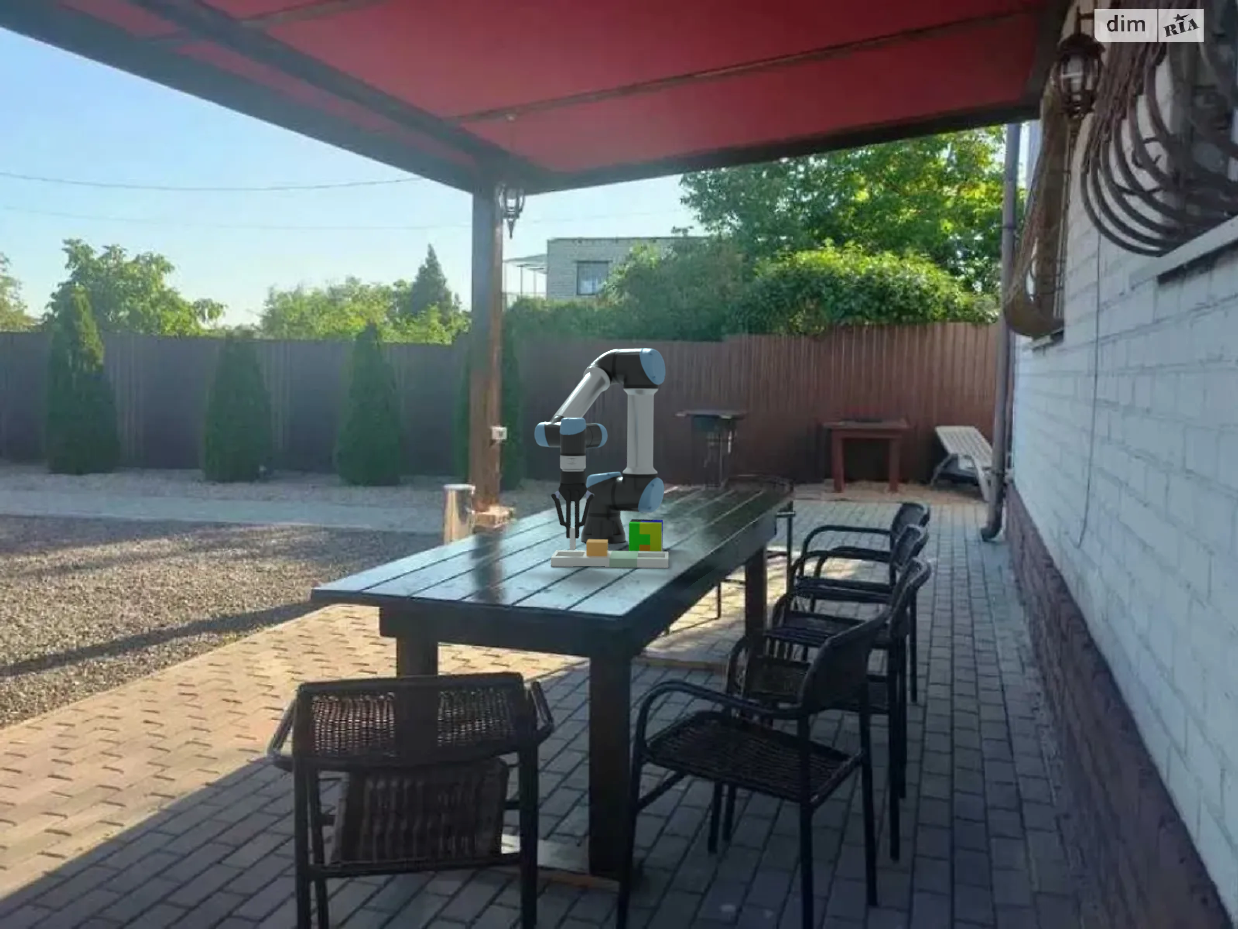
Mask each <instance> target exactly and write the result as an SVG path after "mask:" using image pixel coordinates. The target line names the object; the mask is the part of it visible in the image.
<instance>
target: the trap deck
mask: <svg viewBox="0 0 1238 929" xmlns="http://www.w3.org/2000/svg"><path fill="white" fill-rule="evenodd" d="M551 565H552V566H551ZM550 566H551V567H573V566H605V567H604V568H647V569H648V568H649V569H651V568H656V569H657V568H658V569H660V568H661V569H664V568H665V569H668V568H669V551H662V552H661V551H629V550H608V554H607V556H586V549H585V550H583V549H581V550H578V549H575V550H570V549H568V550H567V549H556V550H555V551H554V552H553V553H552V555H551V557H550Z"/></svg>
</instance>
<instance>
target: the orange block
mask: <svg viewBox="0 0 1238 929" xmlns="http://www.w3.org/2000/svg"><path fill="white" fill-rule="evenodd" d="M585 544H586V549H585V550H586V556H607V554H608V551H609V543H608V540H600V539H588V540H587V542H585Z"/></svg>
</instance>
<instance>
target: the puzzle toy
mask: <svg viewBox="0 0 1238 929" xmlns="http://www.w3.org/2000/svg"><path fill="white" fill-rule="evenodd" d="M663 540H664V519H641V518H640V519H639V518H638V519H637V518H632V519H631V520H630V521H629V522H628V551H661V552H664V550H663V548H664V546H663V545H664V544H663V543H664V541H663Z"/></svg>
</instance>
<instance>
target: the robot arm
mask: <svg viewBox="0 0 1238 929" xmlns="http://www.w3.org/2000/svg"><path fill="white" fill-rule="evenodd" d="M582 374H583V376H582V378H581V380H580V381H579V382H578V384H577V385H576V387H575V388H574V389H573V391H572V392H571V393H570V394H569V395H568V397H567V398H566V399H565V400H564V402H563V403H562V405H560V407H559V408H558V410H557V411H556V412H555V414H554V415H553V416H552V417H551V419H550V420H549V421H544V422H539V423H538V424H537V425H536V426H535V428H534V439H535V441H536V444H537V445H539V446H540V447H548V448H560V453H559V454H560V455H559V456H560V457H559V466H560V467H559V468H560V469H561V471H559V475H560V476H559V487H558V488H557V491H555V492H553V493H551V494H550V497H551V498H552V500H553V501H554V505H555V509H556V513H557V518H558V521H559V525H560V526H562V527H565V537H566V539H569V550H577V548H576V547H577V545H576V544H577V543H576V541H577V540H576V539H579V537H580V541H581V542H583V543H586V542H587V540H588V539H600V540H608V544H620V543H623V542H626V538H627V535H626V532H625V528H624V525H623V522H622V519H621V518H622V516H621V512H626V513H627V512H628V513H629V512H630V513H631V512H632V513H640V514H644V513H647V514H649V513H650V514H651V513H654V512H656V511H657V510H658V509H659V508H660V506H661V504H662V502H663V498H664V495H665V485H664V482H663V479H661V478H660V477H658V470H656V469H655V468H654V412H655V410H654V409H655V408H654V407H655V406H654V404H655V403H654V402H655V401H654V397H655V396H654V395H655V394H656V393H658V391H659V385H661V384H663V383H664V382H665V378H666V365H665V361H664V358H663V356H662V354H661V352H660V351H658V350H657V349H654V348H646V347H643V348H614V349H611V350H609V351H606V352H604V353H602V354H600V355H599V356H598V357H597V358H596V359H594V360H593V361H592V362H591V363H590V364H589V365H588V366H587V367H586V369H585V370H584V372H583V373H582ZM613 385H622V386H623V387H622V389H623V391H624V392H625V393H626V394H627V429H626V431H627V437H626V438H627V440H626V441H627V442H626V443H627V444H626V446H627V447H626V450H627V452H626V458H627V459H626V462H627V463H626V467H625V469H624V470H623V471H622V473H621V472H620V471H612V472H603V473H595V474H594V473H593V474H590V475H588V476H587V475H586V474H587V472H586V471H585V469H586V468H587V467H586V466H587V465H586V464H587V463H586V461H587V460H586V459H587V456H586V455H587V454H586V453H587V452H586V451H587V450H588V449H597V448H601V447H603V446H605V444H606V443H607V440H608V431H607V429H606V427H605V426H604V425H603V424H601V423H597V422H591V423H587V422H586V419H585V418H584V416H585V414H587V412H588V410H589V409H590V408H591V407H592V405H593V404H594V403H595V401H596V400H597V398H598V397H600V394H602V392H605V391H607V390H608V388H610V386H613ZM586 476H587V477H586ZM586 478H587V479H586ZM585 495H586V496H585ZM584 496H585V500H586V502H585V505H584V509H583V513H582V518H581V521H580V513H581V512H580V509H581V508H580V503H581V500H582V499H583V497H584ZM560 497H562V499H563V500H564V501H565V517H564V514H563V510H562V505H561V501H560ZM572 502H574V526H572ZM581 527H582V531H581V534H580V528H581Z"/></svg>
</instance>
